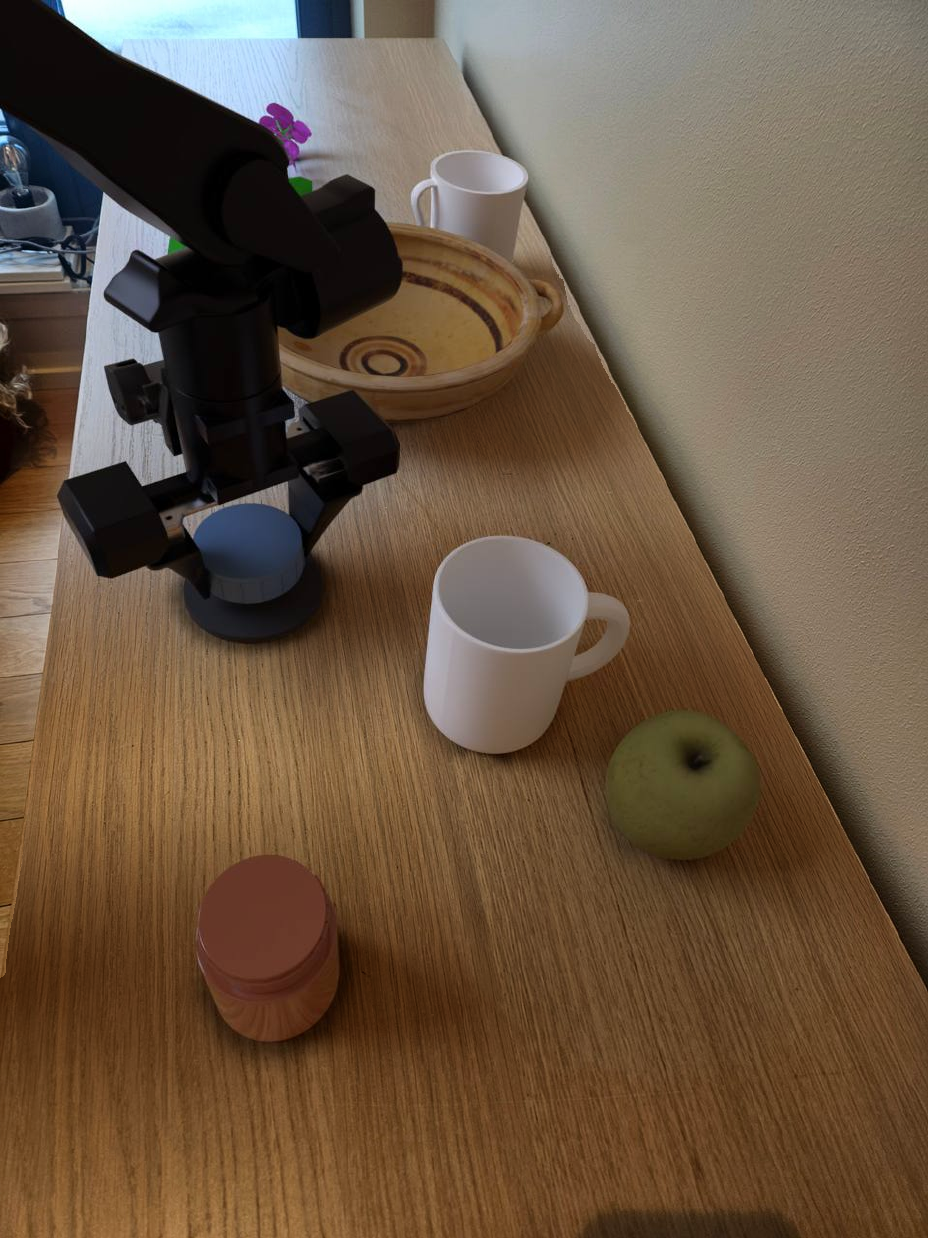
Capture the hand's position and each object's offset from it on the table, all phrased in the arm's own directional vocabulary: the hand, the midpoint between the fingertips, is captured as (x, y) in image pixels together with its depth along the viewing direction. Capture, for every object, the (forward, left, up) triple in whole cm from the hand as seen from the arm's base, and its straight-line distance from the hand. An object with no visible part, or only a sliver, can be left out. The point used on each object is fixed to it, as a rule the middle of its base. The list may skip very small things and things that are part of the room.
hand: (252, 574), depth 56 cm
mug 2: (+10, -16, -2) cm, 19 cm away
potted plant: (+22, +46, -2) cm, 51 cm away
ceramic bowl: (+20, +16, -2) cm, 26 cm away
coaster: (0, 0, -2) cm, 2 cm away
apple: (+12, -27, -2) cm, 30 cm away
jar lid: (0, 0, +3) cm, 3 cm away
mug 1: (+35, +27, -2) cm, 44 cm away
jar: (-10, -23, -2) cm, 25 cm away
